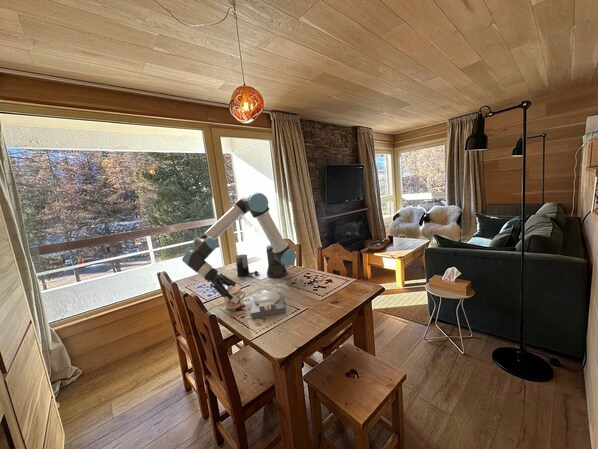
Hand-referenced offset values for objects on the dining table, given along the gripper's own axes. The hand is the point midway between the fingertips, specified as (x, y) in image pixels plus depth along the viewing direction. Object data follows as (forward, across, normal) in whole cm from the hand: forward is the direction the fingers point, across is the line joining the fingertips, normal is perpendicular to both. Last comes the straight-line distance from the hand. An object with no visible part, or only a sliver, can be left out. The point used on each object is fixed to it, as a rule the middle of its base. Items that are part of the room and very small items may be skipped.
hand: (239, 297), depth 142 cm
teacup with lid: (+1, -1, -6) cm, 6 cm away
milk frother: (-2, -50, -8) cm, 50 cm away
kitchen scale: (+15, +4, +8) cm, 17 cm away
